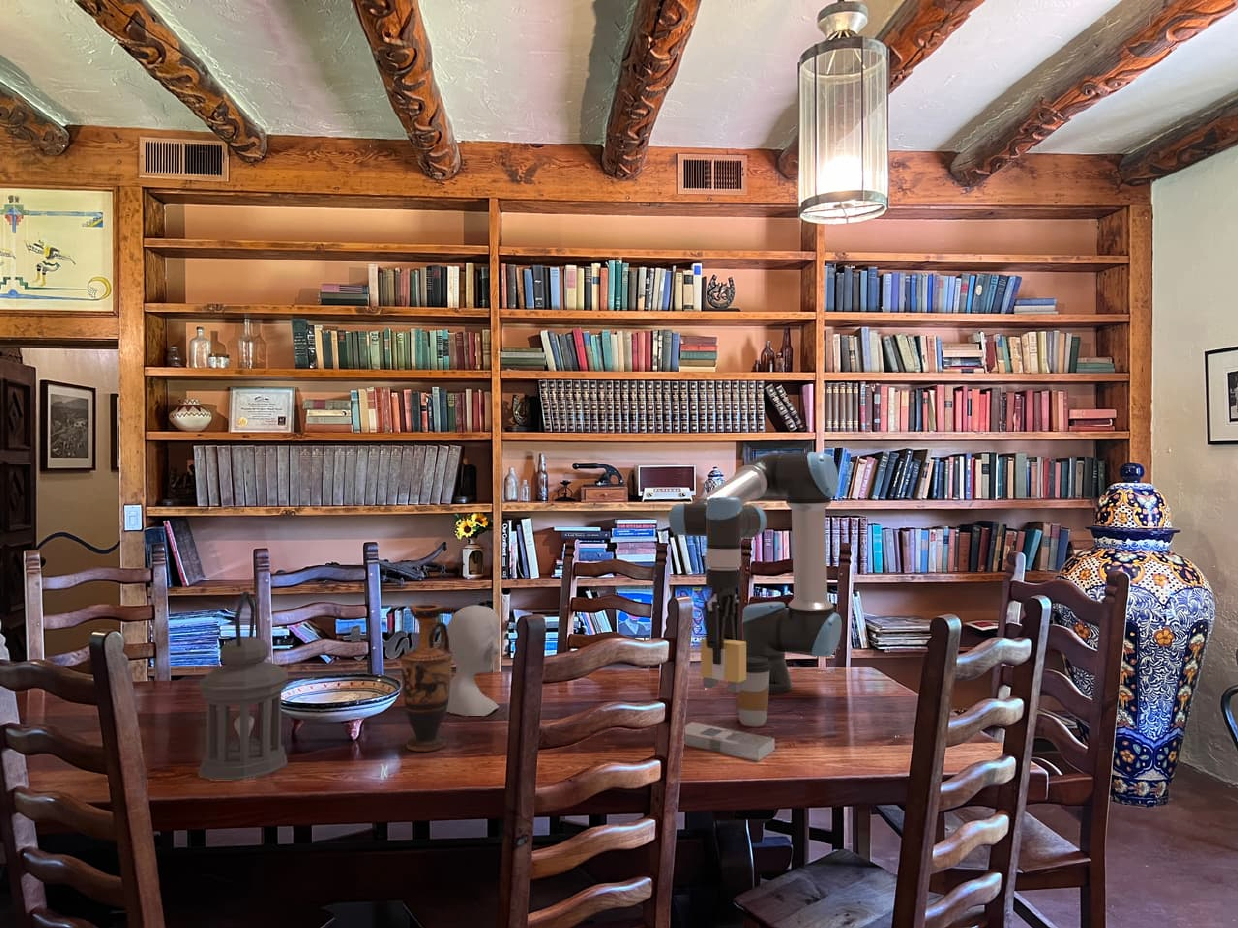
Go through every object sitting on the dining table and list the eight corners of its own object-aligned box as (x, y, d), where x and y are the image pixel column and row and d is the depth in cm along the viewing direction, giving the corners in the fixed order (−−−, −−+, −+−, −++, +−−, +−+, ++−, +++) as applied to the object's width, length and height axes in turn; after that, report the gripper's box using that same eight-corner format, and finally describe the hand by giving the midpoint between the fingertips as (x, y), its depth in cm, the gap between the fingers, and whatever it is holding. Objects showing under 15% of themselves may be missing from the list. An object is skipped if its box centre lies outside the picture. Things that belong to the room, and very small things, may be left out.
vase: (406, 757, 165) (407, 612, 166) (395, 742, 175) (396, 604, 175) (458, 749, 170) (458, 608, 171) (444, 735, 180) (445, 601, 180)
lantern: (284, 776, 155) (285, 595, 155) (187, 786, 150) (189, 599, 151) (293, 748, 171) (294, 584, 171) (206, 756, 166) (208, 587, 167)
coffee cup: (770, 729, 184) (770, 663, 184) (733, 726, 186) (733, 662, 186) (770, 718, 192) (770, 655, 193) (735, 716, 194) (735, 654, 194)
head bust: (529, 701, 207) (529, 604, 208) (478, 720, 191) (478, 615, 191) (467, 689, 219) (467, 597, 219) (414, 706, 203) (414, 607, 203)
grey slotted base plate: (674, 742, 175) (674, 731, 175) (692, 733, 181) (691, 721, 181) (758, 760, 163) (758, 748, 163) (774, 749, 170) (774, 738, 170)
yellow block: (700, 686, 173) (701, 639, 174) (708, 683, 176) (708, 636, 177) (738, 693, 168) (738, 644, 169) (746, 689, 171) (746, 641, 172)
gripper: (725, 564, 182) (725, 667, 181) (689, 570, 168) (689, 682, 168) (755, 566, 178) (755, 672, 177) (721, 572, 164) (721, 687, 163)
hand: (723, 676), depth 172 cm, fingers closed on yellow block, 4 cm apart
